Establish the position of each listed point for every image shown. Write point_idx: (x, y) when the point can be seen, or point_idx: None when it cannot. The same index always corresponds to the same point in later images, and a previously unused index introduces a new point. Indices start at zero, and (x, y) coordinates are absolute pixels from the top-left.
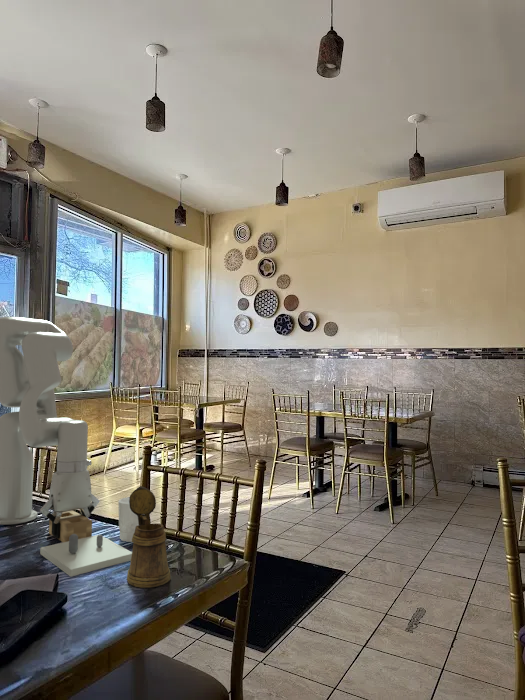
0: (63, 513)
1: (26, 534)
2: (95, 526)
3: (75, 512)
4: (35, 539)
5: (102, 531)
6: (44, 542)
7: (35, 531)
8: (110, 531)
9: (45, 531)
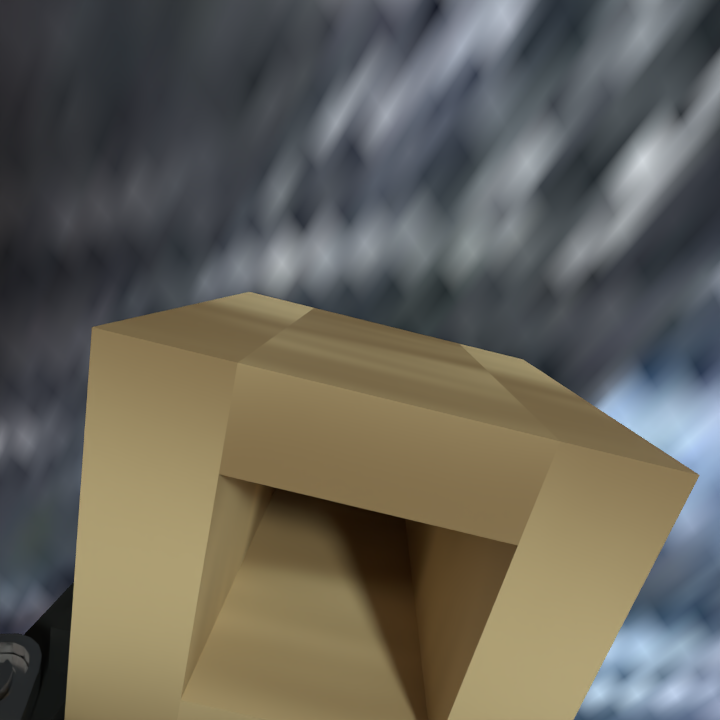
0: (382, 507)
1: (45, 95)
2: (713, 506)
3: (584, 654)
4: (51, 359)
5: (607, 667)
6: (78, 503)
7: (179, 72)
8: (642, 716)
9: (263, 189)
